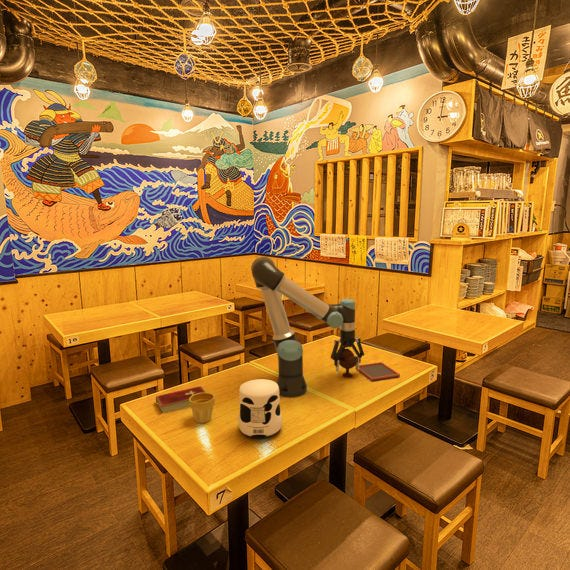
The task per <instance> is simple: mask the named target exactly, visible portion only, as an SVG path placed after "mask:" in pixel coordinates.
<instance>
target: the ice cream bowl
mask: <svg viewBox="0 0 570 570" xmlns="http://www.w3.org/2000/svg"><path fill="white" fill-rule="evenodd" d="M356 356H357V355H355V354H354V351H352V350H351V349H350V348H345V349H344V350H343V351H342V353H341V355H340V357H339V359H338V360H339V367H341V368H343V369H345V372H344V373H342V376H341V377H343V378H346V379H349V378H353V377H354V376H353V373H351V372H350V370H351V369H353V368H355V366H356V364H357V362H358V358H357V357H356Z"/></svg>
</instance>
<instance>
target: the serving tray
mask: <svg viewBox="0 0 570 570" xmlns="http://www.w3.org/2000/svg"><path fill="white" fill-rule="evenodd" d="M354 368H355V370H356V371H357V372H359V373H360V374H361V375H362V376H364V378H366V379H368V380H369V381H370V382H371V383H373V382H380V381H385V380H386V381H387V380H392V379H397V378H398V379H399V378H400V376H401V375H400V373H399V372H397V370H394V369H393V368H391V367H389V366H388V365H387V364H386V363H384V362H383V361H380V362H371V363H365V364H359V370H357V369H356V366H354Z"/></svg>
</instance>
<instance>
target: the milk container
mask: <svg viewBox="0 0 570 570" xmlns="http://www.w3.org/2000/svg"><path fill="white" fill-rule="evenodd" d="M238 391H239V392H238V393H239V394H238V395H239V399H238V400H239V412H238V417H237V423H238V427H239V430H240V431H241V433H242V434H243V435H244V436H246V437H247V436H248V437H250V438H256V439H263V438H264V439H265V438H268V437H272V436H273V435H275V434H277V433H278V432H279V431H280V430H281V428H282V424H283V413H282V410H281V405H280V395H279V386H278V384H277V382H276V381H273V380H270V379H263V378H262V379H259V378H258V379H251V380H247V381H246V382H244V383H242V384H241V385H240V386H239V390H238Z"/></svg>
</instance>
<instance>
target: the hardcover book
mask: <svg viewBox="0 0 570 570" xmlns="http://www.w3.org/2000/svg"><path fill="white" fill-rule="evenodd" d="M203 392H206V390H205V389H204V387H202V386H200V385H199V386H195V387H191V388H187V389H182V390H177V391H173V392H169V393H165V394H160V395H155V403H158V404H157V405H159V406H158V407H160V408H159V410H160V409H161V410H160V412H161V411H162V412H161V413H163V414H165V413H164V412H167V413H169V411H171V412H174V411H173V410H175V411H177V410H178V409H179V410H182V409H186V408H190V406H189V398H190V397H191V396H192V395H194V394H197V393H203Z"/></svg>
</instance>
